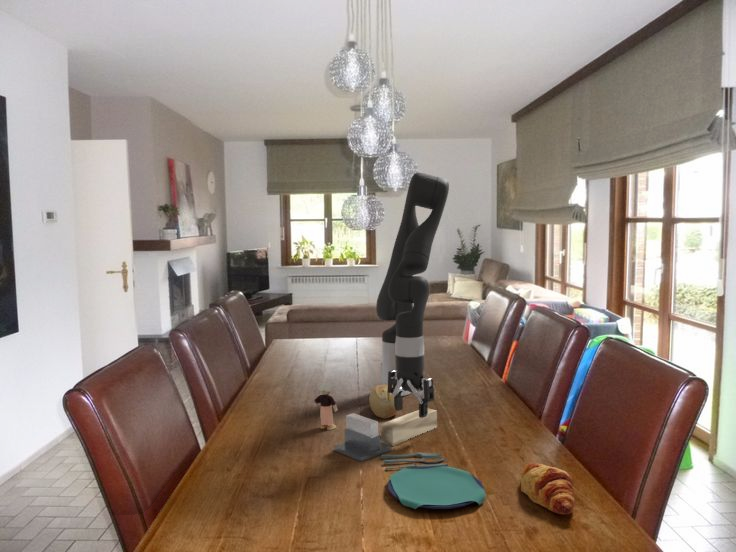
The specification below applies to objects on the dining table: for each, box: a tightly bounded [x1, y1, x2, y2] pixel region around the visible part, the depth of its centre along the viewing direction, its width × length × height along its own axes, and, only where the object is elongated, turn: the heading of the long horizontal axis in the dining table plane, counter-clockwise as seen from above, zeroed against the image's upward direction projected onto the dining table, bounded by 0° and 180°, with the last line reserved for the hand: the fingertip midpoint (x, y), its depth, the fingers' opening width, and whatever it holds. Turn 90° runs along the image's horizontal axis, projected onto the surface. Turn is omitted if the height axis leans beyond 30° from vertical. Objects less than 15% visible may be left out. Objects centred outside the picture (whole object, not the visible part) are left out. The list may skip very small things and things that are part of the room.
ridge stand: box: [333, 412, 392, 462], centre depth 147 cm, size 10×10×8 cm
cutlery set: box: [380, 451, 487, 510], centre depth 129 cm, size 20×30×2 cm, turn 9°
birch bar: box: [380, 407, 438, 447], centre depth 157 cm, size 4×18×5 cm, turn 136°
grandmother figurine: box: [313, 381, 338, 431], centre depth 164 cm, size 8×4×13 cm, turn 71°
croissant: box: [520, 462, 576, 515], centre depth 122 cm, size 21×10×8 cm, turn 6°
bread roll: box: [368, 384, 398, 420], centre depth 177 cm, size 10×15×8 cm, turn 2°
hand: (410, 413), depth 157 cm, fingers open, 8 cm apart
